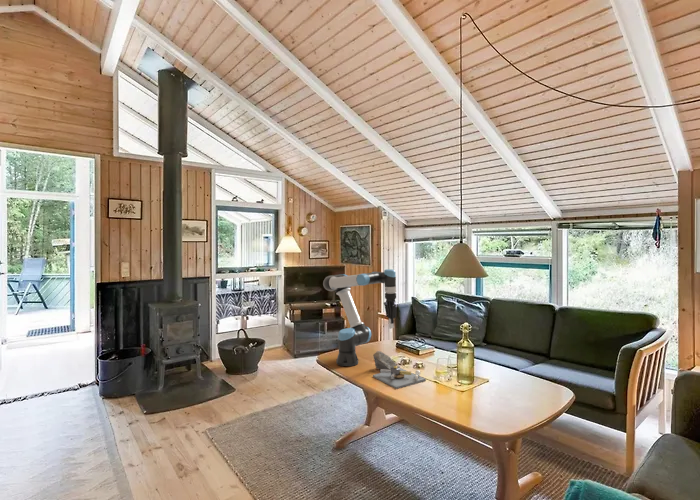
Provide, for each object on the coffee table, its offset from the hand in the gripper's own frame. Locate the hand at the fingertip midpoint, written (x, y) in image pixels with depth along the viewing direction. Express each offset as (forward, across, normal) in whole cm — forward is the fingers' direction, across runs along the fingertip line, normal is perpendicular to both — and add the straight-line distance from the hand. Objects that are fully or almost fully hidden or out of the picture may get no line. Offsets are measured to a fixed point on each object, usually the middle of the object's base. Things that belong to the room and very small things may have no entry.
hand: (391, 328), depth 258 cm
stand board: (+26, +19, -10) cm, 34 cm away
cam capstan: (+25, +18, -11) cm, 33 cm away
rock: (+27, +1, -6) cm, 27 cm away
